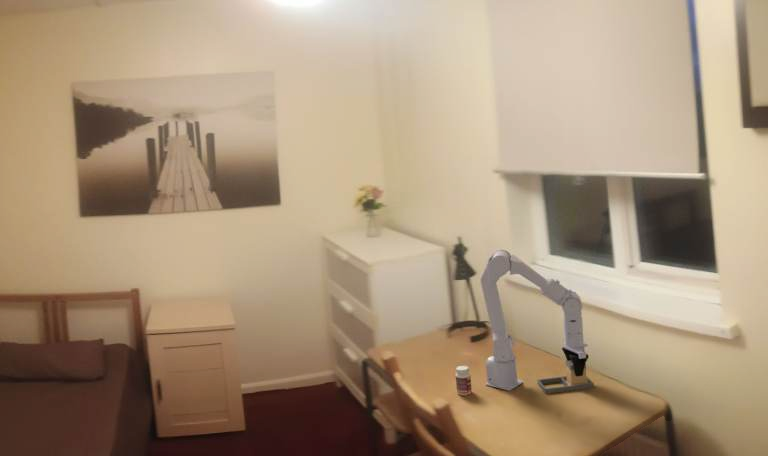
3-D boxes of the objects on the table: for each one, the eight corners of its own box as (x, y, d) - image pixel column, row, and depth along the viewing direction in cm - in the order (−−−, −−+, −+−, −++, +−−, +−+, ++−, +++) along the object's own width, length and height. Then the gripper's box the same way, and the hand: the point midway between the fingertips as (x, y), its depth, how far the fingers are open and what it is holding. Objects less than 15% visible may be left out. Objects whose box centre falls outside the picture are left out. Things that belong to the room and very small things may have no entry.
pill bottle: (471, 395, 205) (469, 370, 204) (456, 395, 206) (454, 371, 204) (472, 389, 209) (470, 364, 208) (457, 389, 210) (455, 365, 209)
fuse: (571, 386, 202) (570, 365, 201) (566, 381, 206) (565, 361, 205) (586, 384, 203) (585, 363, 201) (582, 379, 207) (581, 359, 205)
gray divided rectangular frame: (545, 393, 200) (544, 389, 200) (537, 383, 208) (537, 379, 208) (593, 387, 201) (593, 383, 200) (584, 378, 209) (584, 373, 208)
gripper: (594, 337, 195) (597, 379, 197) (577, 323, 209) (580, 362, 211) (571, 339, 195) (574, 382, 197) (556, 325, 209) (559, 365, 211)
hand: (576, 372), depth 204 cm, fingers open, 5 cm apart
